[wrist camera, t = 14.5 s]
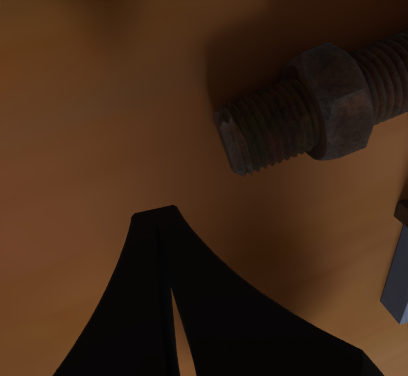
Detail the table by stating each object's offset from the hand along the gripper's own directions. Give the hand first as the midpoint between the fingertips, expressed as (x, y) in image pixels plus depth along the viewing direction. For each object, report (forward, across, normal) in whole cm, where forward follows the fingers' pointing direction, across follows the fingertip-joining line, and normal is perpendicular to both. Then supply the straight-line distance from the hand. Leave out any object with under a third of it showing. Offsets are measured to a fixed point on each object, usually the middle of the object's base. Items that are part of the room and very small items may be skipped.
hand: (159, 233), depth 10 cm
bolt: (+6, -11, -2) cm, 13 cm away
